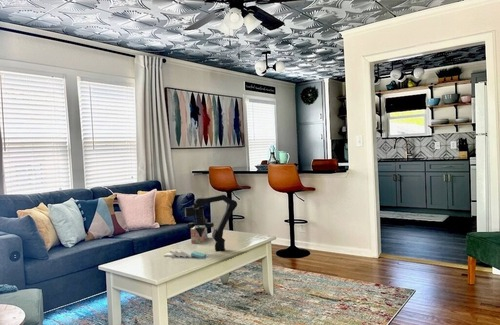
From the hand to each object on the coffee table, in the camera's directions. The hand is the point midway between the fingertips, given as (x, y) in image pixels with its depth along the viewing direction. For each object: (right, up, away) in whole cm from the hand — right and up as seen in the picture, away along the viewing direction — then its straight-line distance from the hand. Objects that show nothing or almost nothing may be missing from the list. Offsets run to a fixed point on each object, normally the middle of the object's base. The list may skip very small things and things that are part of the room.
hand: (201, 237), depth 275 cm
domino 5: (+4, -11, -13) cm, 17 cm away
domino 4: (-4, -11, -10) cm, 15 cm away
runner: (-6, -12, -9) cm, 16 cm away
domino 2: (-13, -12, -6) cm, 18 cm away
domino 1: (-17, -12, -5) cm, 21 cm away
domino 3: (-9, -11, -8) cm, 16 cm away
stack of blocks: (-6, -12, +42) cm, 44 cm away
